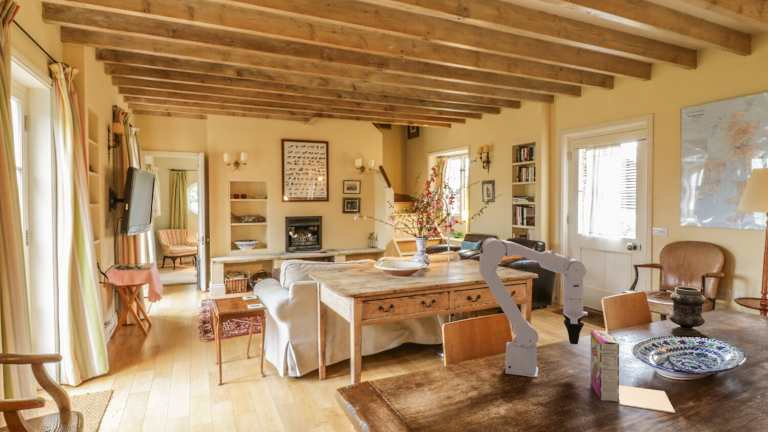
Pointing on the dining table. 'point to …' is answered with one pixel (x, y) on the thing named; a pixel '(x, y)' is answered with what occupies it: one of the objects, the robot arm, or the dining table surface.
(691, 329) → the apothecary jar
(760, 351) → the dining table surface
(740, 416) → the dining table surface
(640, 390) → the placemat
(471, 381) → the dining table surface
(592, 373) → the candy bar box
